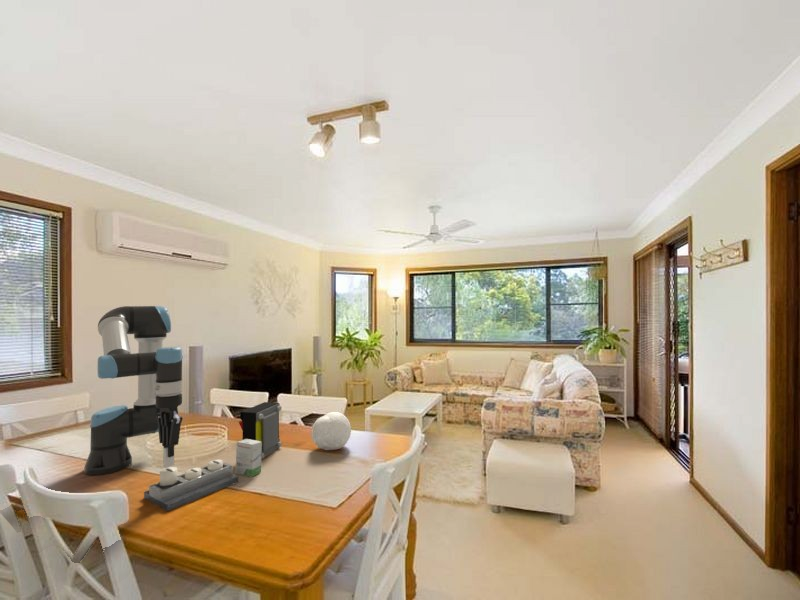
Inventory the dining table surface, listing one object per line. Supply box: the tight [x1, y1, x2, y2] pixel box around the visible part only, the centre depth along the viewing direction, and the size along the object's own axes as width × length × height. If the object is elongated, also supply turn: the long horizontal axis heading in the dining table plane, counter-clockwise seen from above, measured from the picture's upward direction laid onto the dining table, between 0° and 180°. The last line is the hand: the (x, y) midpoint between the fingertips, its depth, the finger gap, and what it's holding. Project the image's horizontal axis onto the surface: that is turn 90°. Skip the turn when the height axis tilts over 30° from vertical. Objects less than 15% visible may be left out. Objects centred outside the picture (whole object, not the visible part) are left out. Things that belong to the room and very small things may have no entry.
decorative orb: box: [311, 411, 352, 451], centre depth 168 cm, size 20×18×16 cm
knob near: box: [159, 466, 179, 486], centre depth 125 cm, size 5×5×4 cm
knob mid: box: [184, 467, 201, 480], centre depth 131 cm, size 5×5×4 cm
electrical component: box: [238, 401, 283, 460], centre depth 164 cm, size 18×10×20 cm, turn 166°
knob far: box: [207, 459, 224, 472], centre depth 138 cm, size 5×5×4 cm
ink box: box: [235, 439, 262, 477], centre depth 145 cm, size 9×5×12 cm, turn 65°
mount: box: [143, 461, 239, 512], centre depth 131 cm, size 16×24×5 cm, turn 146°
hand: (168, 466), depth 125 cm, fingers closed
